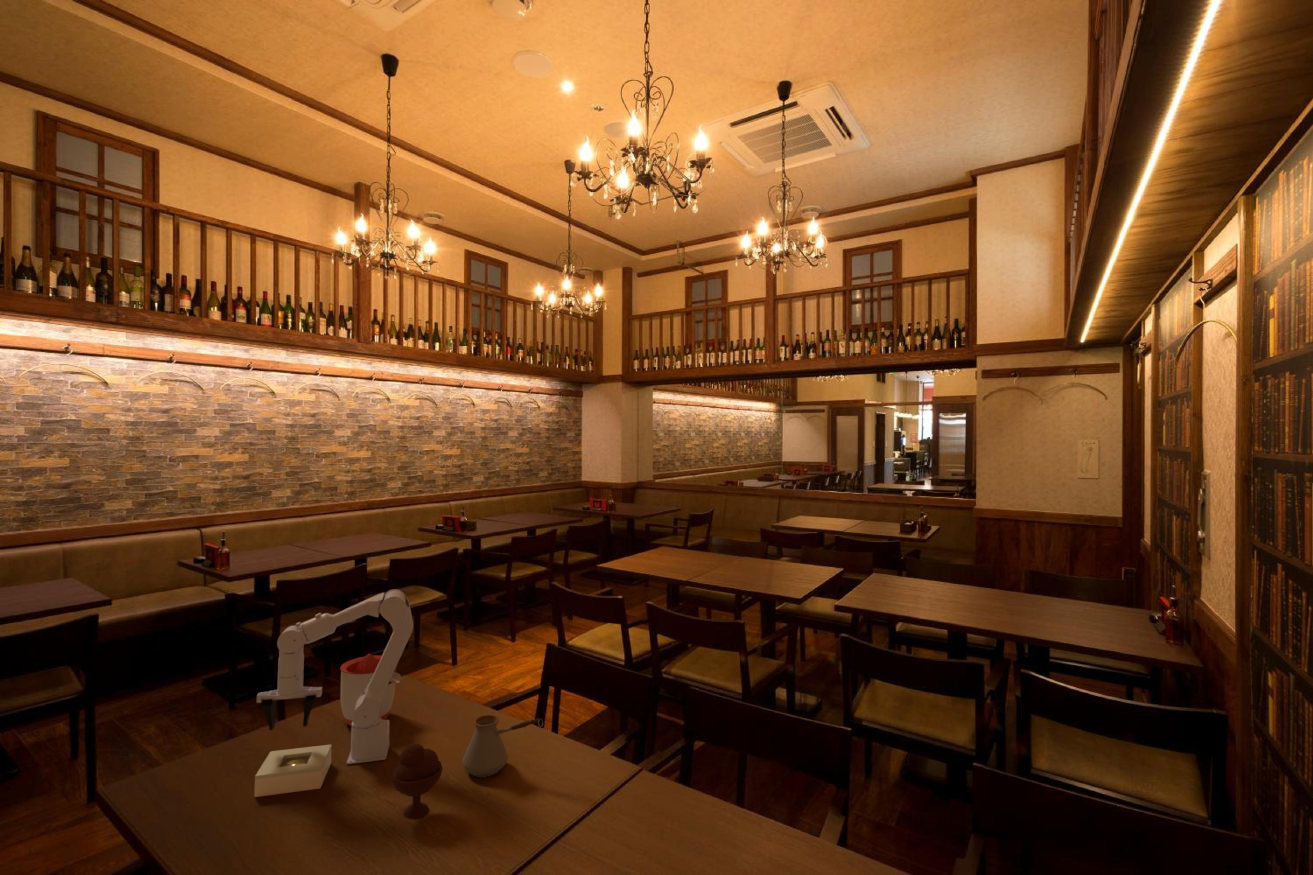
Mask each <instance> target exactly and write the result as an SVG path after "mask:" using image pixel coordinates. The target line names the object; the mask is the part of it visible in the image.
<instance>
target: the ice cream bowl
mask: <svg viewBox="0 0 1313 875" xmlns="http://www.w3.org/2000/svg"><path fill="white" fill-rule="evenodd" d="M399 762H400V763H399V765H397V766H396V767H395V768H394V769H393V770H392V771H391V774H392V780H393V781H392V782H393V786H394V788H395V790H397V791H398V792H399V793H400V794H402V795H405V796H407V797H411V798H412V803H411V804H408V805H407V806H406V807H405V808H404V810H403V816H404V817H405V818H408V819H418V818H421V817H424V816H425V815H426V814H427V813H428V812H429V811H430V809H429V805H428V804H427V803H426V802H423V801H421V800H422V799H421V796H422V795H425V794H426V793H428V792H429V791H430V790H431V789H432V788H433V787H434V786H436V784H437V783H438V781H439V780H440V779H441V776H442V773H443V766H442V762H441V761H440V760H439V756H438V754H437V752H436V751H434V750H433V749H431V748H424V746H423V744H419V743H409V744H408V745H407V746H405V747H403V750H402V751H401V752H400V754H399Z"/></svg>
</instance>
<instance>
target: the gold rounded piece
mask: <svg viewBox="0 0 1313 875" xmlns="http://www.w3.org/2000/svg"><path fill="white" fill-rule="evenodd" d="M300 764H306V762H305V760H302V759H297V760H293V761H290V762H288V763H287V764H286V765H285V766H292V765H300Z"/></svg>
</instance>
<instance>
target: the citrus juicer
mask: <svg viewBox="0 0 1313 875" xmlns="http://www.w3.org/2000/svg"><path fill="white" fill-rule="evenodd" d="M382 655H383V654H382ZM382 655H378V654H377V655H373V654H371V653H368V654H366V655H365V656H362V657H361V656H360V657H356V658H354V659H350V660H348V661H345V662H344V663H343V664H341V666H340V667H339V669H340V671H341V672H340V708H341V711H342V716H343V718H344V721H345V723H346V725H348V726H350V727H352V715H353V712H354V710H355V704H356V700H357V698H358V697H359V696H360V695H361V694H362V693H363V692H364V691H365V689H366V687H367V685H368V684H369V682H370V680H371V678H372V676H373V674H374V672H375V670H376V667H377V665H378V663H379V661H380V659H381V657H382ZM397 666H398V665H397ZM397 666H396V668H395V670H394V672H393V674H392V676H391V679H390V681H389V683H388V685H387V687H386V689H385V692H384V695H383V697H382V700H381V703H380V706H379V711H378V714H379V715H380V716H381V719H383V720H387V718H388V717H389V714H390V713H391V710H392V706H393V702H394V699H395V693H396V692H395V691H396V690H395V689H396V684H399V683H400V682H401V680H402V676H401V674H400V673H398V672H397Z"/></svg>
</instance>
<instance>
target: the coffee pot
mask: <svg viewBox="0 0 1313 875" xmlns="http://www.w3.org/2000/svg"><path fill="white" fill-rule="evenodd" d="M499 721H500V718H499V716H497V715H494V714H483V715H479V716H478V717H476V718H475V719H474V720H473V725H475V731H474V732H473V735H472V737H471V739H470V742H469V744H468V746H467V749H466V751H465V753H464V756H463V758H462V765H463V767H464V769H465V770H466V772H468V773H469V774H470V775H471V776H473V777H475V776H476V777H475V778H487V776H488V777H492V776H494V775H495V773H496V774H497V773H499V771H500V770H502V769H503V768H504V766H505V765H506V763H507V762H508V759H509V754H508V751H507V749H506V747H505V745H504V742H503V740H502V738H501V735H502V734H504V733H507V732H510V731H514V730H518V729H522V728H526V727H527V726H530V725H534V724H535V723H537V725H538V727H539V728H541V727H543V725H544V721H543V719H542V718H540V717H538V718H535V719H533V718H532V719H530V720H528V721H523V722H520V723H517V724H514V725H511V726H510V727H506V728H503V729H499V730H498V728H497V725H498V723H499ZM540 721H541V725H540ZM493 774H494V775H493ZM491 775H492V776H491Z"/></svg>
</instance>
